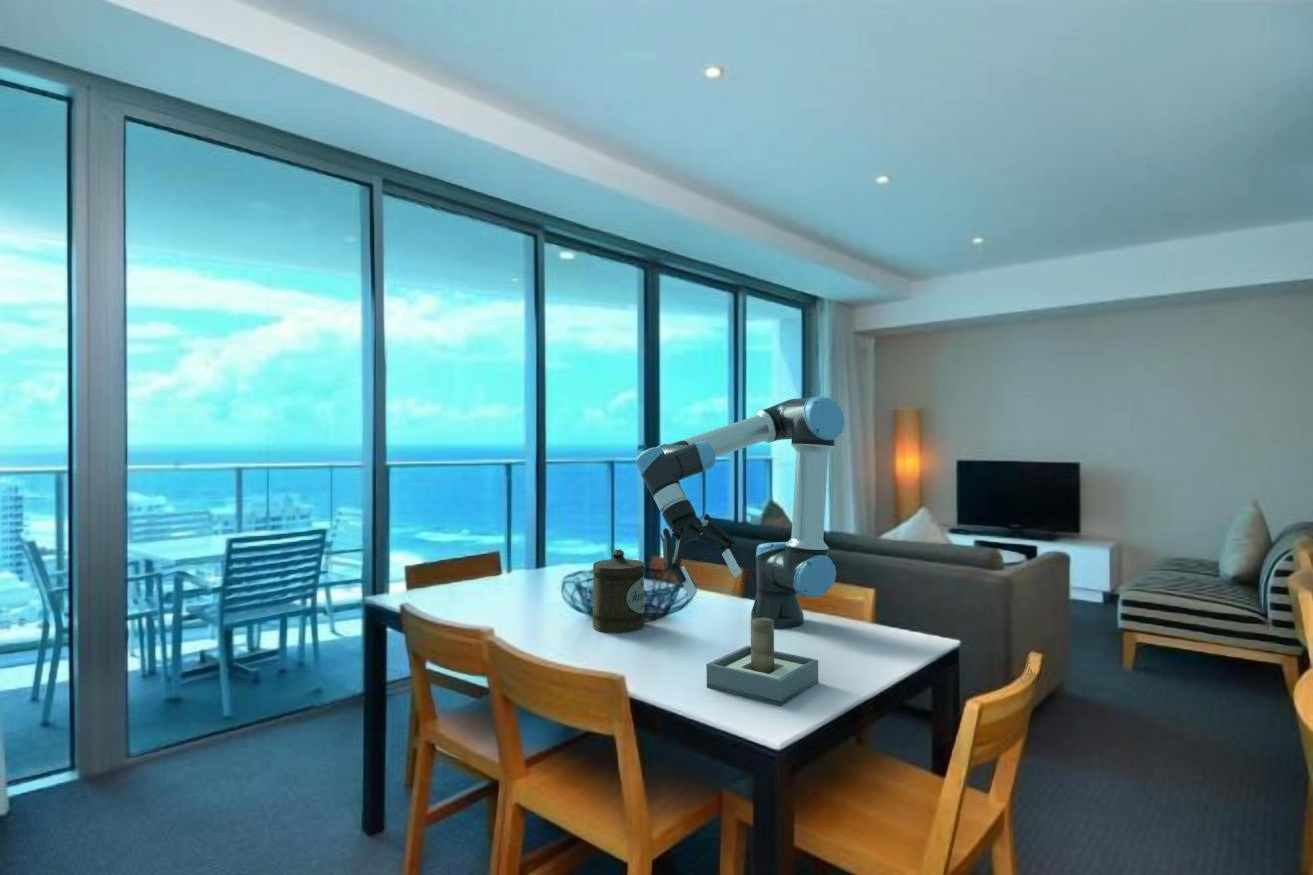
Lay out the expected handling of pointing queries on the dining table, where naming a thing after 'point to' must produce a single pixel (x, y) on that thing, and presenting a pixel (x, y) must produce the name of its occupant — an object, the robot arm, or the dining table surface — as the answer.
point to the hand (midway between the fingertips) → (716, 584)
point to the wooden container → (618, 594)
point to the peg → (762, 645)
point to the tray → (763, 676)
